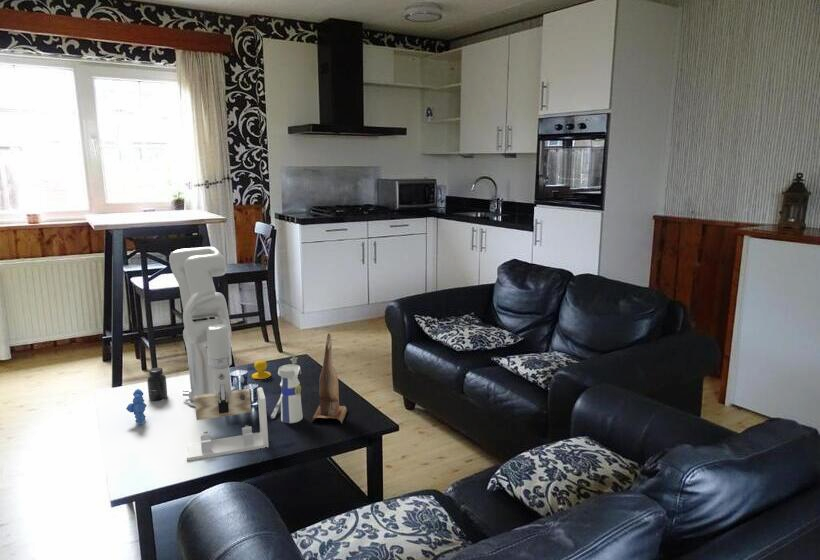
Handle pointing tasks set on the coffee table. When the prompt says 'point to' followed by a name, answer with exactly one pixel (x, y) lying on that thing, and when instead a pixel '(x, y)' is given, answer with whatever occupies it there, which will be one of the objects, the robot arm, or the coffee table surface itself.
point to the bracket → (276, 409)
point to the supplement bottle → (157, 385)
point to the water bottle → (290, 392)
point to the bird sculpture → (329, 388)
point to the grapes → (138, 406)
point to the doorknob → (261, 370)
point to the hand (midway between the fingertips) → (223, 410)
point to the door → (210, 408)
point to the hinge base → (233, 438)
